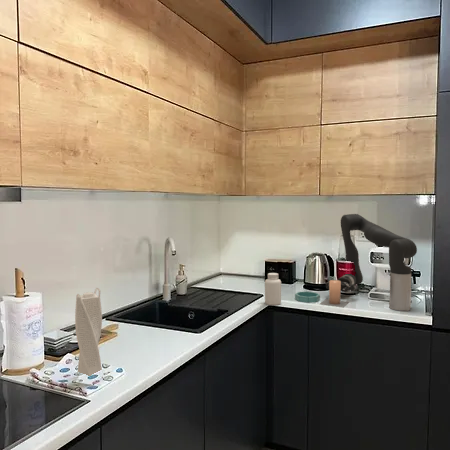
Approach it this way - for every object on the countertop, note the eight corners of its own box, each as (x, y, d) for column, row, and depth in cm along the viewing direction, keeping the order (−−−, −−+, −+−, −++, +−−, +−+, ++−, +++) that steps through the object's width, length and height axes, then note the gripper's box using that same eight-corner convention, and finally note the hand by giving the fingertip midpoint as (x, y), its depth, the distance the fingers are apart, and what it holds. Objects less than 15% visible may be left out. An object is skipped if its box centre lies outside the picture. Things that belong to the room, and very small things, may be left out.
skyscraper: (110, 377, 131) (108, 285, 129) (95, 388, 123) (93, 291, 121) (85, 374, 133) (83, 284, 131) (69, 385, 125) (67, 289, 123)
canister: (341, 302, 216) (342, 280, 215) (338, 305, 211) (339, 282, 210) (330, 301, 219) (331, 279, 218) (327, 303, 214) (328, 281, 213)
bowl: (322, 299, 224) (322, 293, 224) (314, 304, 214) (315, 298, 214) (300, 296, 230) (300, 290, 230) (292, 301, 220) (292, 295, 220)
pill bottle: (261, 303, 216) (261, 273, 215) (271, 300, 222) (272, 271, 221) (274, 306, 211) (274, 275, 210) (284, 303, 216) (284, 273, 215)
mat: (349, 303, 217) (349, 301, 217) (343, 308, 207) (343, 307, 207) (326, 300, 223) (326, 298, 223) (319, 305, 213) (319, 304, 213)
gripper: (332, 274, 235) (323, 279, 221) (359, 277, 228) (351, 282, 214) (332, 288, 235) (322, 294, 221) (358, 291, 228) (351, 297, 214)
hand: (336, 288), depth 218 cm, fingers open, 8 cm apart
